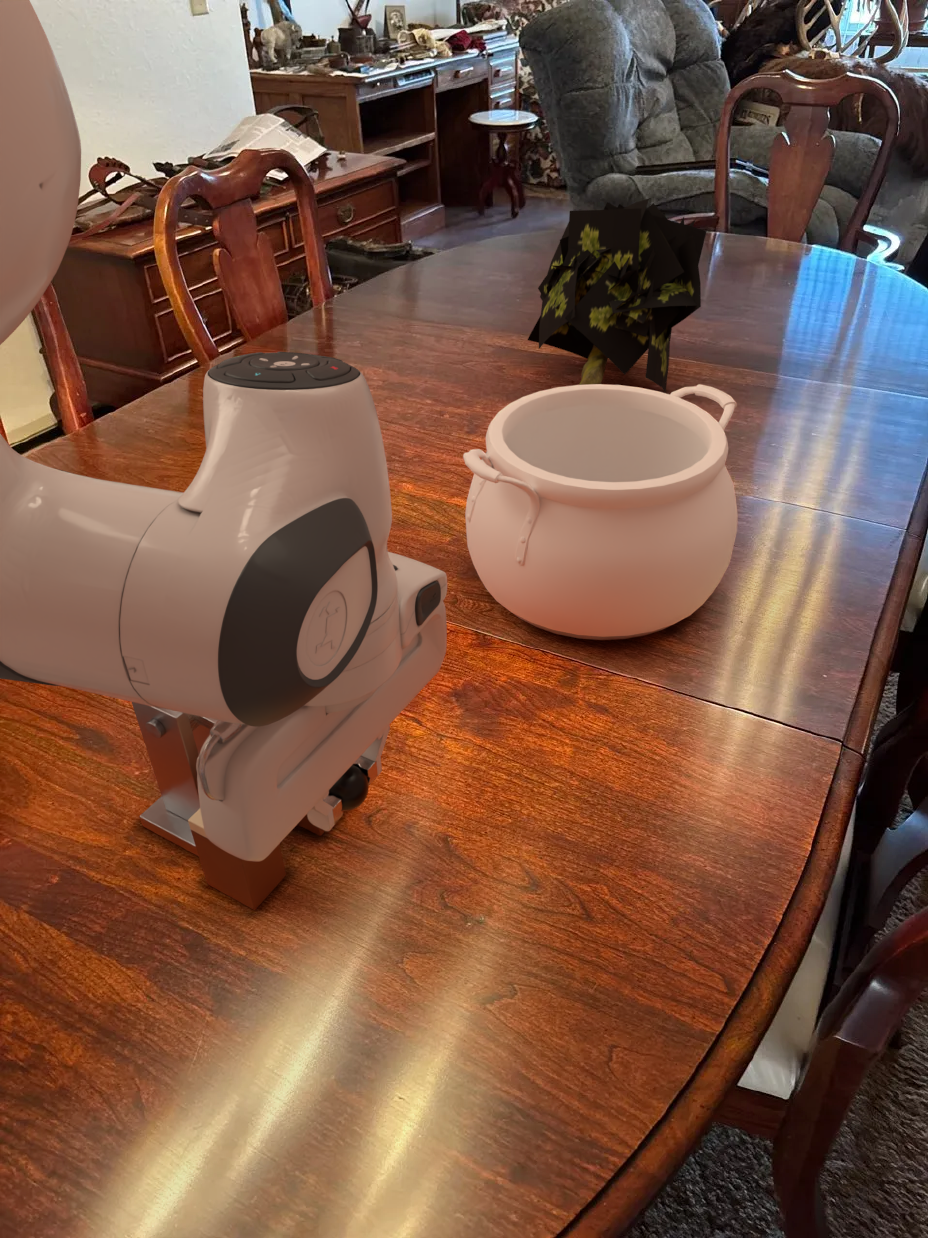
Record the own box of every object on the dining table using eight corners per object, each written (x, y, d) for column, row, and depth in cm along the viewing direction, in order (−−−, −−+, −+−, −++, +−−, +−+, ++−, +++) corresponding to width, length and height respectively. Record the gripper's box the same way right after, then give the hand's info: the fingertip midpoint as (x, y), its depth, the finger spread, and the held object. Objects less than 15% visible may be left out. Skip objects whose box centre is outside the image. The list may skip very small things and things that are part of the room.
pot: (552, 702, 81) (561, 534, 70) (410, 559, 99) (400, 410, 88) (790, 597, 92) (828, 440, 82) (623, 487, 110) (637, 347, 100)
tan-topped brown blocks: (254, 911, 64) (238, 846, 60) (206, 884, 66) (187, 820, 62) (348, 805, 72) (339, 741, 67) (302, 784, 73) (291, 720, 69)
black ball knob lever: (378, 796, 61) (377, 766, 59) (351, 828, 59) (349, 797, 57) (187, 700, 67) (181, 669, 66) (157, 725, 65) (150, 694, 63)
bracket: (280, 791, 73) (255, 669, 65) (210, 863, 67) (174, 739, 60) (214, 760, 76) (182, 638, 68) (142, 826, 70) (98, 703, 63)
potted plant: (654, 442, 123) (746, 212, 115) (496, 384, 123) (577, 152, 115) (640, 437, 143) (717, 241, 136) (505, 387, 144) (574, 190, 136)
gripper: (241, 771, 44) (282, 940, 52) (461, 560, 57) (465, 721, 66) (146, 725, 46) (199, 893, 55) (378, 534, 60) (392, 692, 69)
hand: (346, 797), depth 60 cm, fingers closed on black ball knob lever, 3 cm apart
